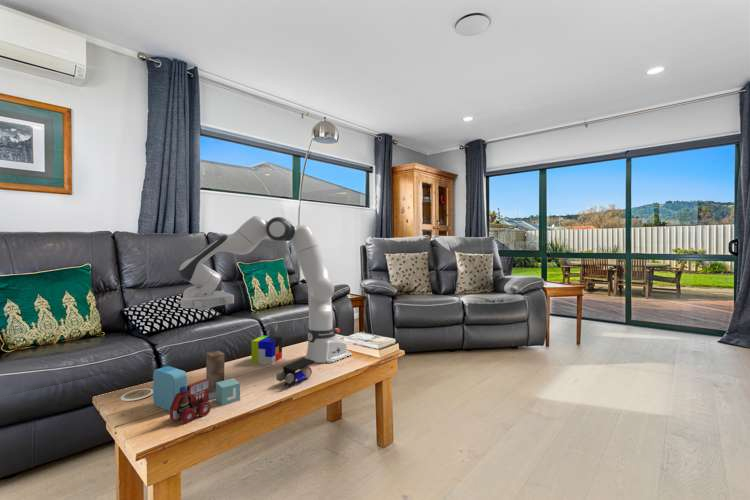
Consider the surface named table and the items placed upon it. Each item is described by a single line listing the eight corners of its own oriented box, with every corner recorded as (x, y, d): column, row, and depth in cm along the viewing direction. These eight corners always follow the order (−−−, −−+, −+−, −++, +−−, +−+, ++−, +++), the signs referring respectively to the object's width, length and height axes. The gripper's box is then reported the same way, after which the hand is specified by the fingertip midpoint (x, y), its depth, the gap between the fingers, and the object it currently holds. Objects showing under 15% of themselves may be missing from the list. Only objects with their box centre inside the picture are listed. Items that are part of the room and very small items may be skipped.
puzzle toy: (271, 364, 163) (272, 342, 163) (251, 363, 165) (251, 341, 165) (281, 357, 173) (282, 336, 173) (262, 356, 175) (262, 335, 175)
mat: (220, 380, 144) (220, 379, 144) (237, 392, 132) (237, 391, 132) (193, 386, 137) (193, 385, 137) (208, 400, 126) (208, 399, 126)
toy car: (289, 393, 135) (316, 376, 148) (287, 374, 134) (315, 358, 147) (276, 390, 139) (303, 373, 152) (274, 370, 138) (302, 355, 151)
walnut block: (218, 384, 138) (218, 350, 138) (224, 389, 134) (224, 353, 134) (206, 387, 135) (206, 352, 135) (211, 392, 131) (211, 356, 131)
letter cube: (233, 395, 130) (233, 378, 130) (240, 400, 126) (240, 383, 126) (215, 399, 126) (215, 382, 126) (222, 405, 122) (222, 387, 122)
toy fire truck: (164, 422, 110) (164, 387, 110) (202, 406, 121) (202, 375, 121) (176, 428, 107) (176, 392, 107) (215, 411, 117) (215, 379, 117)
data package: (187, 407, 120) (187, 371, 120) (173, 413, 116) (173, 375, 116) (166, 399, 126) (166, 364, 126) (152, 404, 122) (152, 368, 122)
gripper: (175, 293, 149) (186, 297, 139) (226, 289, 163) (239, 293, 153) (175, 309, 149) (186, 314, 139) (226, 304, 163) (239, 308, 153)
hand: (214, 303), depth 146 cm, fingers open, 8 cm apart
